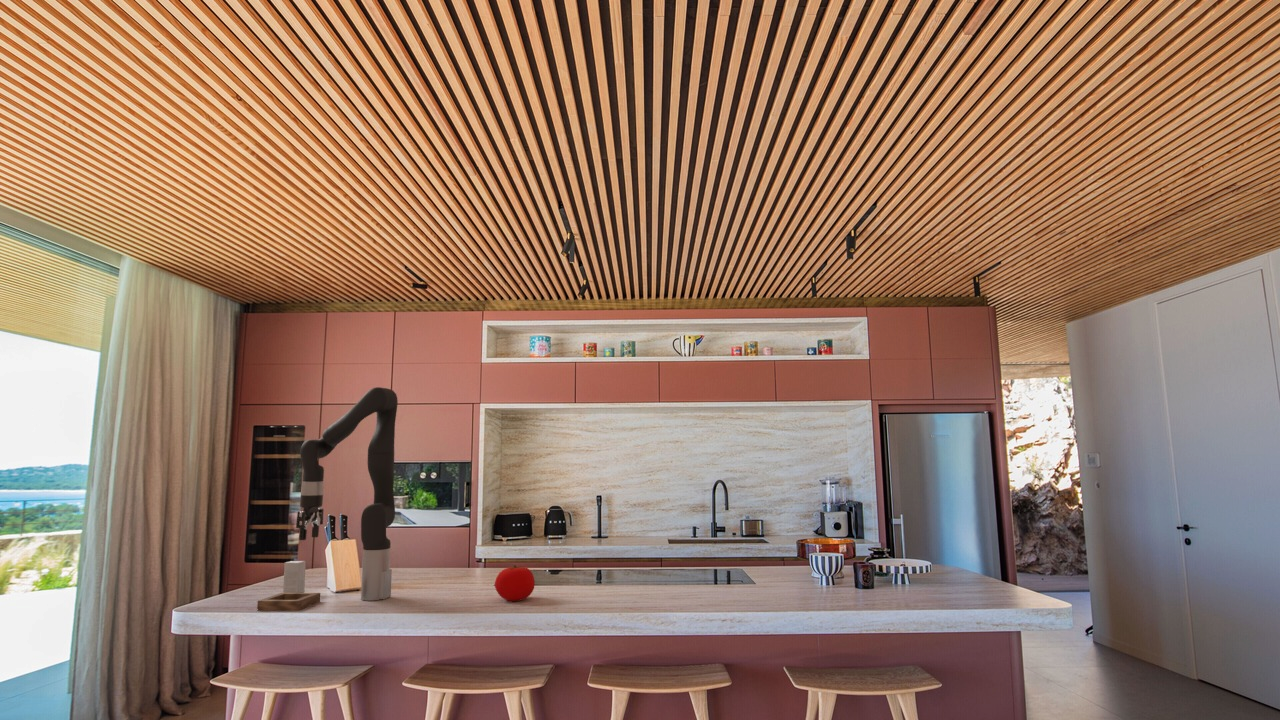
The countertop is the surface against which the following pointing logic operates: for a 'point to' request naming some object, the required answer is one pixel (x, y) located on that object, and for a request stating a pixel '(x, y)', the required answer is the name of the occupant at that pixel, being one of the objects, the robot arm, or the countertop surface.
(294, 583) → the skincare box
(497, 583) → the tomato
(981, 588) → the countertop surface
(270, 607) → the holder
